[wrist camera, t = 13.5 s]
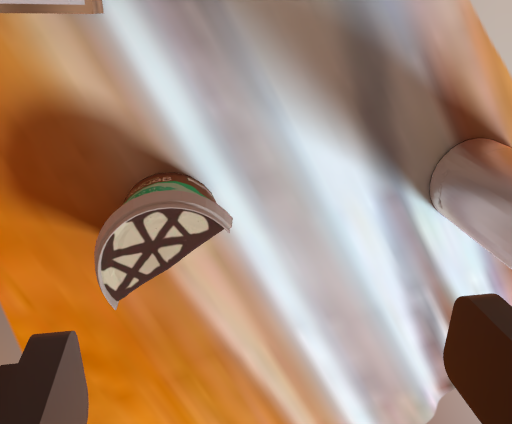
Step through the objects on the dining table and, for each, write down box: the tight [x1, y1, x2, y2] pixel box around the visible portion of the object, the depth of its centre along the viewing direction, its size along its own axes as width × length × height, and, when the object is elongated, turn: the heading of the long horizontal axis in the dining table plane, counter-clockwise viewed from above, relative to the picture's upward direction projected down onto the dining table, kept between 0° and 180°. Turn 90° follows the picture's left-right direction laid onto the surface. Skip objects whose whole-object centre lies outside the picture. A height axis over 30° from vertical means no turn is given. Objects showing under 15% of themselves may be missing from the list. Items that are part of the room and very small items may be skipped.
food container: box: [95, 173, 233, 310], centre depth 39 cm, size 12×6×10 cm, turn 123°
